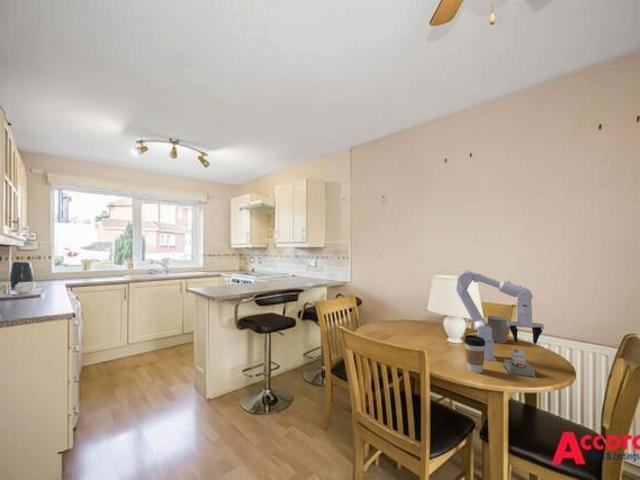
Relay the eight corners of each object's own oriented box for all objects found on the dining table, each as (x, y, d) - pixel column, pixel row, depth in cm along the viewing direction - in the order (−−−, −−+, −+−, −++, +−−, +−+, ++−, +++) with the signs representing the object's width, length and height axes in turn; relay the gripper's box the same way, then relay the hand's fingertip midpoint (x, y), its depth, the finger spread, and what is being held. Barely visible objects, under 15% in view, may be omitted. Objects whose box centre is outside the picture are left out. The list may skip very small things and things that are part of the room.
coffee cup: (467, 365, 134) (466, 333, 135) (487, 370, 129) (486, 336, 129) (462, 371, 128) (462, 337, 128) (484, 376, 123) (483, 341, 123)
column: (514, 367, 125) (514, 352, 126) (511, 363, 129) (511, 349, 130) (525, 368, 124) (525, 353, 124) (522, 364, 128) (521, 350, 128)
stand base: (509, 375, 124) (509, 365, 124) (502, 366, 133) (502, 357, 133) (536, 378, 121) (536, 368, 121) (527, 368, 130) (527, 359, 130)
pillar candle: (484, 339, 170) (484, 314, 170) (495, 337, 174) (494, 312, 174) (500, 344, 161) (500, 318, 161) (511, 342, 166) (511, 316, 166)
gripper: (509, 314, 133) (510, 344, 133) (546, 316, 129) (547, 347, 129) (504, 311, 140) (505, 339, 140) (540, 313, 136) (540, 341, 135)
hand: (525, 342), depth 135 cm, fingers open, 7 cm apart
